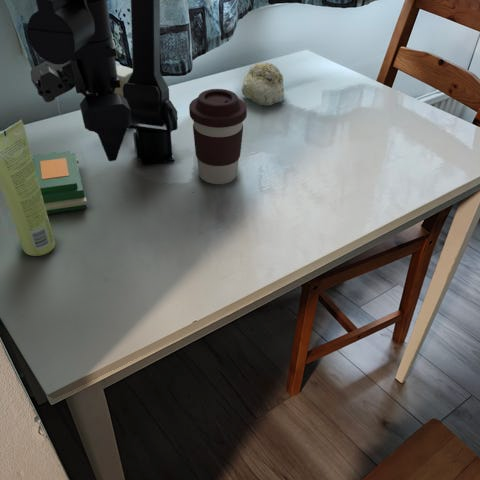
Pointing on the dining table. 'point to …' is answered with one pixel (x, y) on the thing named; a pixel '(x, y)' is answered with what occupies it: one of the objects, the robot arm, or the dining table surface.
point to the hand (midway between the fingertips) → (107, 145)
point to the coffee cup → (218, 134)
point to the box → (123, 77)
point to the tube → (24, 192)
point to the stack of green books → (60, 181)
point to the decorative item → (264, 84)
